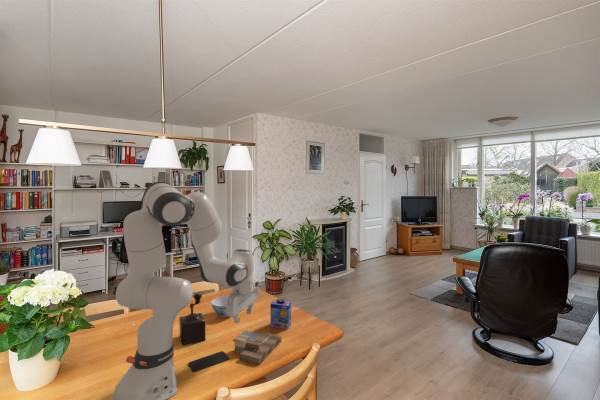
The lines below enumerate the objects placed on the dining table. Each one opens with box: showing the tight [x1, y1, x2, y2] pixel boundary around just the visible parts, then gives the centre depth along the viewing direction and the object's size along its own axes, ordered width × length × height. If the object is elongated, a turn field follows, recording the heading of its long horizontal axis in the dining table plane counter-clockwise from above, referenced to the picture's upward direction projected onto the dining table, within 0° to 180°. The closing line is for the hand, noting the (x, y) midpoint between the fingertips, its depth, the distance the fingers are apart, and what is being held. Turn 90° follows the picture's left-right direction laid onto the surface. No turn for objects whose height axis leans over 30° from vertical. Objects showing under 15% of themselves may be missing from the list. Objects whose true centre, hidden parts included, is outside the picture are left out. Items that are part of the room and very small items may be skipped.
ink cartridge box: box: [269, 298, 292, 330], centre depth 154 cm, size 10×6×14 cm, turn 78°
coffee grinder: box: [178, 292, 207, 346], centre depth 142 cm, size 16×11×18 cm
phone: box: [187, 350, 230, 373], centre depth 122 cm, size 7×1×15 cm
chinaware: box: [210, 295, 230, 318], centre depth 166 cm, size 15×15×8 cm
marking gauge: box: [234, 333, 261, 354], centre depth 129 cm, size 4×11×6 cm, turn 68°
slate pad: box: [232, 330, 263, 342], centre depth 141 cm, size 10×11×1 cm
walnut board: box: [239, 332, 282, 366], centre depth 131 cm, size 20×9×3 cm, turn 158°
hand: (243, 317), depth 130 cm, fingers open, 8 cm apart
